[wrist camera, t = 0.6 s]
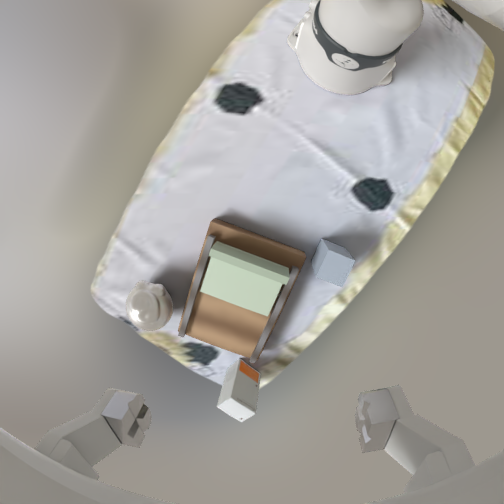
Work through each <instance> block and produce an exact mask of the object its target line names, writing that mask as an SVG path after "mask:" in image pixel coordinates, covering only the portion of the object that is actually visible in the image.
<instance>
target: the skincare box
mask: <svg viewBox="0 0 504 504" xmlns="http://www.w3.org/2000/svg"><path fill="white" fill-rule="evenodd" d="M260 375H261V373H259V372H258V371H256V370H255V369H254V368H252V367H251V366H249V365H248V364H247V363H246V362H244V361H243V360H242V359H240V358H239V359H238V360H237V361H236V362H234V363H233V364H232V365H230V366H229V367H228V368H227V371H226V375H225V379H224V382H223V386H222V390H221V394H220V397H219V401H218V404H217V407H218V408H220V409H221V410H223V411H224V412H226V413H227V414H228V415H230V416H232V417H234V418H235V419H237V420H239V421H241V422H243V421H244V420H246V419H247V418H249V417H251V416H253V415H254V414H256V409H257V400H258V391H259V384H260Z"/></svg>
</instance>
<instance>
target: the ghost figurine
mask: <svg viewBox="0 0 504 504" xmlns="http://www.w3.org/2000/svg"><path fill="white" fill-rule="evenodd" d="M126 312H127V315H128V317H129V319H130V320H131V322H132V323H133V324H134V325H135V326H137V327H138V328H140V329H142V330H146V331H154V330H158V329H160V328H162V327H164V326H165V325H166V324H167V323H168V322H169V320H170V318H171V316H172V313H173V302H172V299H171V296H170V295H169V293H168V292H167V291H166V289H165V287H164V286H163V285H162V284H154V283H149V282H147V281H145V280H141V281H139V282H137V283H136V286H135V287H134V288H133V289H132V290H131V291H130V293H129V295H128V297H127V300H126Z"/></svg>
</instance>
